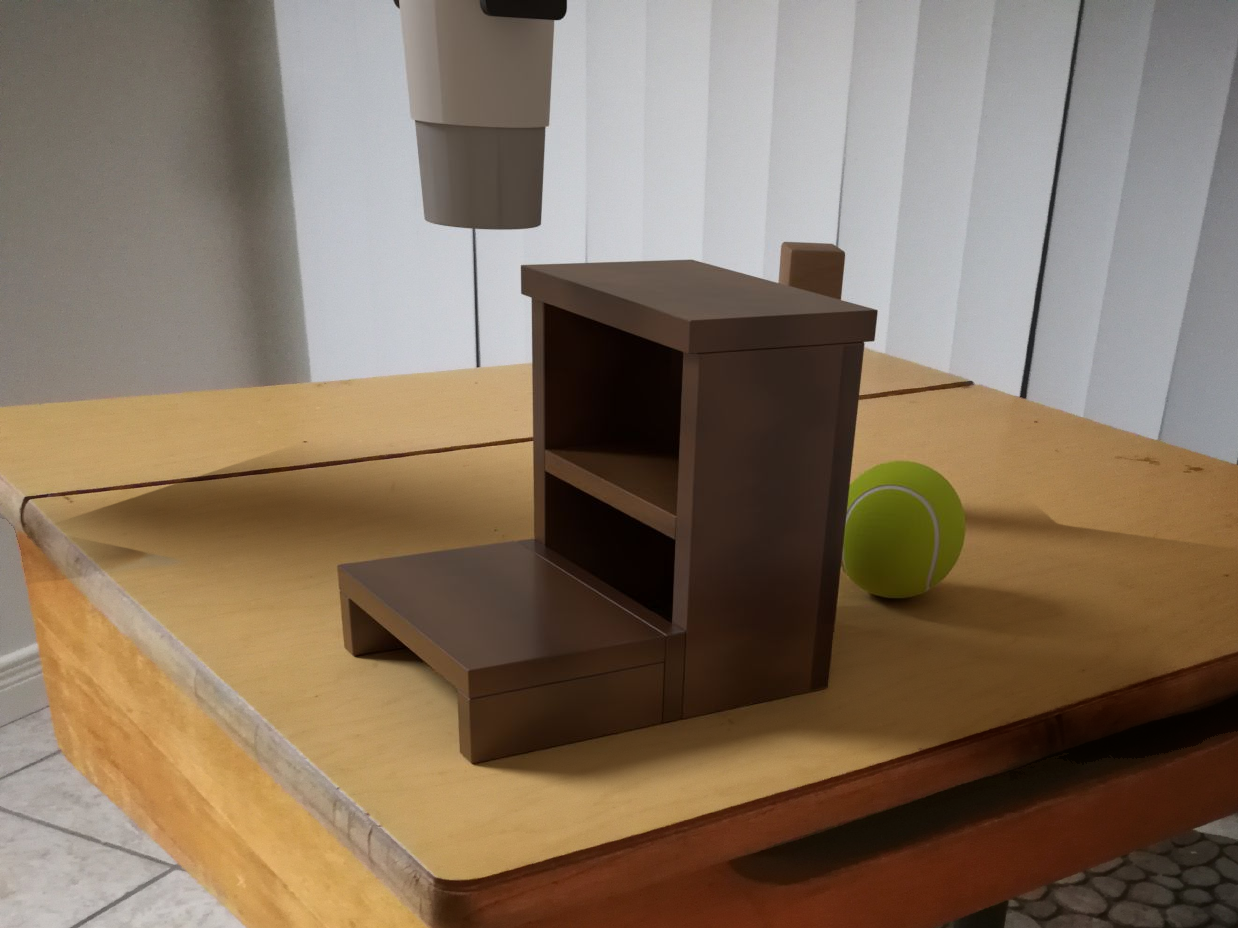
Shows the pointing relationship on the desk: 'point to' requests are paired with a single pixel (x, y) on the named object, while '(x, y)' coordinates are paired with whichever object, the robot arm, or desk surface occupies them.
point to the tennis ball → (901, 529)
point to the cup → (478, 111)
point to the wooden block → (812, 267)
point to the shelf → (647, 513)
